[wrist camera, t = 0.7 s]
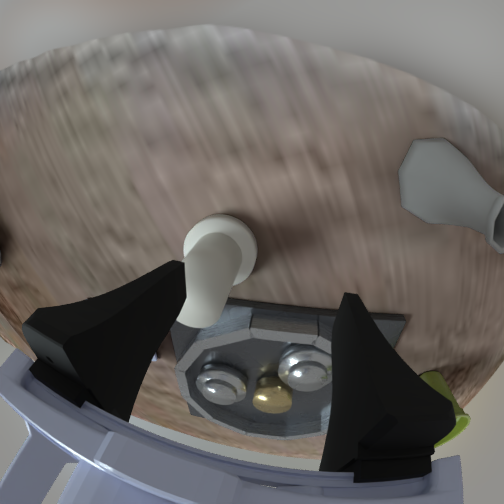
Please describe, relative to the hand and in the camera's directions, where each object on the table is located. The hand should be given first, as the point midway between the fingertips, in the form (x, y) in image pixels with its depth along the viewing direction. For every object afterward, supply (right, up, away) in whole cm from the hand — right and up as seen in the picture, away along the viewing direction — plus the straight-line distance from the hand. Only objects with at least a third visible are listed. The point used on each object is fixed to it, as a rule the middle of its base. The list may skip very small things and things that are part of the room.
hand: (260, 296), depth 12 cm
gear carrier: (+2, -13, +18) cm, 23 cm away
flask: (+14, +8, +6) cm, 17 cm away
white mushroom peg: (-3, +2, +12) cm, 12 cm away
